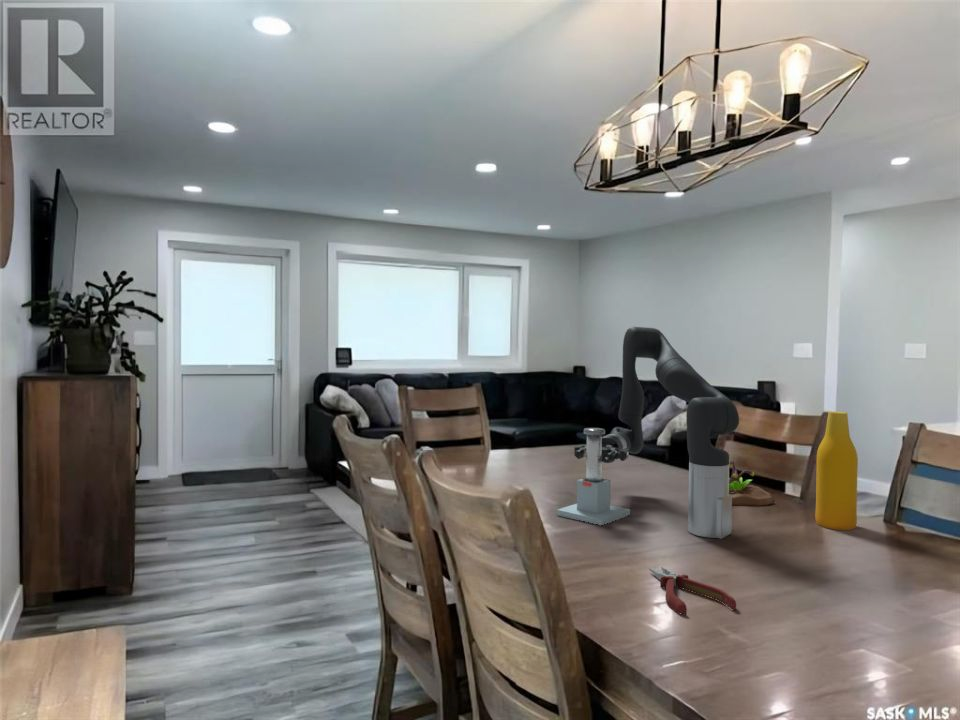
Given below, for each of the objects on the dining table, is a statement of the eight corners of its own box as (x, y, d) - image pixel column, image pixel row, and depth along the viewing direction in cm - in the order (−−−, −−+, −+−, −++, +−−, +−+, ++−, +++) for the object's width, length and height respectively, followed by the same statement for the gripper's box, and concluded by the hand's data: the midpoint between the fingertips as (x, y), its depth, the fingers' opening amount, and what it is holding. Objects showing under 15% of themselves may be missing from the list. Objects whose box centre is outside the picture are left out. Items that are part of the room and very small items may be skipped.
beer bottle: (815, 527, 159) (817, 413, 159) (815, 518, 168) (817, 409, 167) (857, 532, 155) (860, 415, 154) (855, 523, 163) (857, 411, 163)
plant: (757, 491, 200) (757, 456, 199) (780, 507, 180) (781, 468, 180) (692, 490, 202) (692, 455, 201) (708, 505, 182) (709, 467, 182)
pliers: (680, 571, 129) (680, 559, 129) (739, 613, 110) (739, 598, 110) (628, 576, 127) (628, 563, 127) (679, 619, 107) (679, 604, 107)
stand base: (629, 514, 170) (630, 479, 170) (601, 525, 160) (602, 488, 160) (586, 505, 180) (586, 472, 180) (556, 515, 170) (557, 480, 169)
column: (608, 507, 170) (608, 429, 169) (596, 511, 166) (597, 431, 165) (590, 504, 174) (591, 427, 173) (579, 507, 170) (579, 429, 169)
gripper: (587, 433, 186) (568, 440, 172) (635, 436, 180) (619, 444, 165) (587, 458, 187) (568, 467, 172) (635, 462, 180) (619, 473, 166)
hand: (593, 456), depth 169 cm, fingers open, 8 cm apart
